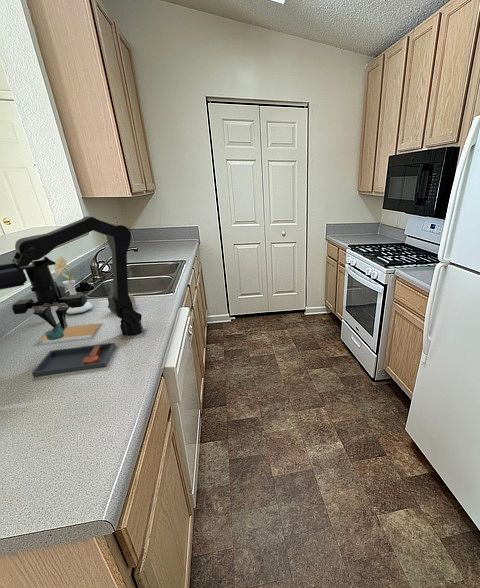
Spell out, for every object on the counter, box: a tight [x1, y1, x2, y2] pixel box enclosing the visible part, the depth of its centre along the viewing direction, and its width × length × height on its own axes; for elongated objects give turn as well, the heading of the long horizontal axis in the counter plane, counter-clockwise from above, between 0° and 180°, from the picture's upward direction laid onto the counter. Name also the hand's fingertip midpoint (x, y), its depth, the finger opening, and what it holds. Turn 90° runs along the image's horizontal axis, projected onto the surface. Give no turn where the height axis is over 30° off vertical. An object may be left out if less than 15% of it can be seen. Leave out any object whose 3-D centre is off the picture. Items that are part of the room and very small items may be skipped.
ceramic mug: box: [129, 294, 137, 311], centre depth 148 cm, size 11×8×8 cm
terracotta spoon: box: [82, 346, 102, 364], centre depth 107 cm, size 4×11×2 cm, turn 16°
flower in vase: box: [52, 255, 93, 315], centre depth 143 cm, size 13×11×25 cm
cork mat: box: [39, 323, 102, 342], centre depth 127 cm, size 18×14×1 cm
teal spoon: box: [44, 321, 69, 341], centre depth 106 cm, size 4×11×2 cm, turn 17°
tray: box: [31, 342, 117, 378], centre depth 107 cm, size 20×15×2 cm
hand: (60, 328), depth 107 cm, fingers closed on teal spoon, 2 cm apart
